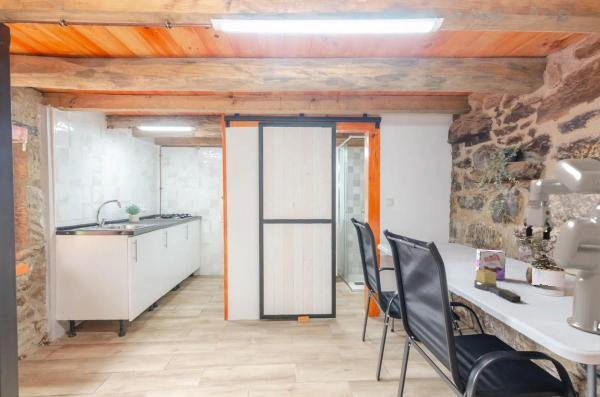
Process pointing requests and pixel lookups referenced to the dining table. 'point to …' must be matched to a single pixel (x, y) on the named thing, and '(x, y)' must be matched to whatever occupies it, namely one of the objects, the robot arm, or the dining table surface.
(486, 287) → the ratchet
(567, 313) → the dining table surface
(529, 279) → the tin
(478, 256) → the candy box
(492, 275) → the tan cube
